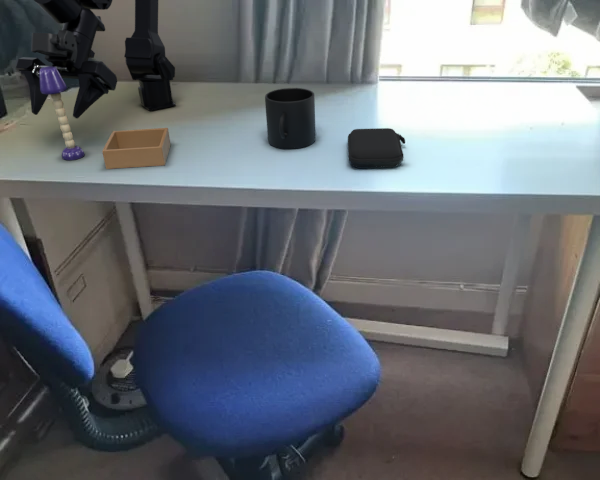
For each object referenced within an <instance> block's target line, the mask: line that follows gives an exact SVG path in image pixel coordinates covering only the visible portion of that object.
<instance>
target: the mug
mask: <svg viewBox="0 0 600 480" xmlns="http://www.w3.org/2000/svg"><path fill="white" fill-rule="evenodd" d="M315 99H316V98H315V93H314V92H313V91H312V90H311V89H307V88H302V87H301V88H300V87H285V88H278V89H274V90H271V91H269V92H267V93H266V94H265V95H264V104H265V105H264V107H265V119H266V133H267V141H268V144H269V145H270V146H272V147H274V148H278V149H284V150H285V149H286V150H291V149H292V150H293V149H301V148H305V147H309V146H311V145H312V144H314V143H315V141H316V137H317V136H316V134H317V133H316V103H315V102H316V101H315Z"/></svg>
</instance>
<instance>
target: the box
mask: <svg viewBox="0 0 600 480" xmlns="http://www.w3.org/2000/svg"><path fill="white" fill-rule="evenodd" d="M169 131H170V130H169V127H159V128H158V127H156V128H155V127H154V128H142V129H141V128H139V129H124V130H112V131H111V134H110V135H109V136H108V139H107V140H106V143H105V145H104V147H103V148H102V151H101V152H102V156H103V161H104V165H105V169H106V170H113V169H114V170H115V169H128V168H131V169H132V168H144V167H145V168H147V167H159V166H160V167H162V166H166V162H167V159H168V156H169V152H170V149H171V145H172V143H171V138H170V132H169Z"/></svg>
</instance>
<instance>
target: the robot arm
mask: <svg viewBox="0 0 600 480" xmlns="http://www.w3.org/2000/svg"><path fill="white" fill-rule="evenodd" d="M33 1H34V2H35V3H36V4H37V5H38V6H39V7H40V9H42V10H43V11H44V12H45V13H46V14H47V15H48V16H49V17H50V18H51V19H52V20H53V21H54V22H56V23H57V24H61V25H62V24H63V25H62V29H60V30H58V32H57V33H49V32H32V33H31V47H30V48H31V53H35V54H36V53H37V54H41V55H44V60H46V61H47V62H48V63H52V64H51V66H54V67H56V68H57V70H58V71H59V73H60V75H61V77H62V78H63V79H70V80H71V79H72V80H73V79H74V80H78V85H79V87H78V91H77V95H76V99H75V102H74V106H73V111H72V117H73V118H74V119H79V118H80V117H81V116H82V115H83V114H84V113H85V112H86V111H87V110H88V109H89V108H90V107H91V106H92V105H93V104H94V103H96V102H97V101H98V100H99V99H100V98H101V97H103V96H104V95H108V94H109V92H110V91H113V92H114V91H115V90H116V88H117V84H118V77H117V75H116V74H115V72H113V70H111V68H109V66H108V65H106V63H104V62H103V61H100V60H89V59H94V57H95V56H96V55H95V54H96V52H95V51H93V49H92V47H93V44H94V42H95V41H94V40H95V37H96V34H97V32H106V26H105V24H104V22H103V21H102V17H101V16H100V15H96V14H95V13H94V12H93V11H92V10H97V11H100V10H101V11H102V10H104V11H105V10H108V9H110V7H111V6H112V3H113V0H33ZM124 49H125V50H124V57H123V58H125V65H126V67H127V69H128V72H129V74H130V76H131V79H132V81H138V82H139V86H138V87H137V90H138V95H139V100H140V105H141V106H142V107H143V108H145V109H146V110H148V111H149V112H153V111H157V110H162V109H168V108H172V107H176V106H177V105H176V102H174V101H173V93H172V88H171V82H170V81H173V80H174V78H175V77H176V67H175V66H174V65H173V63H172V62H171V61H170V60H169V59H168V57H167V56H166V47H165V45H164V43H163V40H162V39H161V37H160V35H159V0H134V31H133V33H132V35H131V36H130V37H125V40H124ZM48 66H49V65H47V64H46V63H44V62H43V61H42V60H41V59H39V57H31V56H30V57H29V56H23V57H19V58H18V59H17V63H16V66H15V70H16V72H18V73H20V76H22V77H23V78H24V79H25V80H26V81H27V84H28V88H29V99H30V109H31V113H32V114H33V115H36V116H37V115H38V114H39V113H40V111H41V110H42V108H43V106H44V104H45V102H46V101H47V99H48V98H49V95H47V94H42V93H41V91H40V76H39V71H40V69H41V68H44V67H48Z"/></svg>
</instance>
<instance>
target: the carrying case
mask: <svg viewBox="0 0 600 480" xmlns="http://www.w3.org/2000/svg"><path fill="white" fill-rule="evenodd" d="M404 144H406V139H405V137H404V136H403V135H401V134H400V133H397V132H396V131H395V129H393V128H389V127H385V128H384V127H381V128H378V127H377V128H355V129H352V131H351V132H350V133H348V136H347V153H348V154H347V155H348V162H349V164H351V166H353V167H354V168H357V169H367V168H370V169H371V168H373V169H375V168H376V169H377V168H395V167H397V166H399V165H400V163H402V162H403V161H404V153H403V147H402V145H404Z"/></svg>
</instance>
